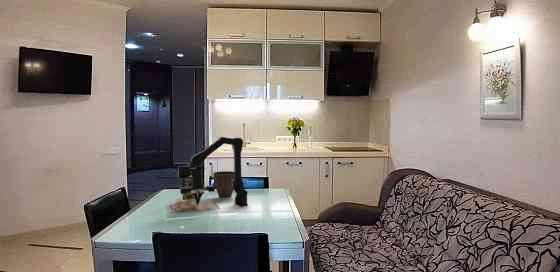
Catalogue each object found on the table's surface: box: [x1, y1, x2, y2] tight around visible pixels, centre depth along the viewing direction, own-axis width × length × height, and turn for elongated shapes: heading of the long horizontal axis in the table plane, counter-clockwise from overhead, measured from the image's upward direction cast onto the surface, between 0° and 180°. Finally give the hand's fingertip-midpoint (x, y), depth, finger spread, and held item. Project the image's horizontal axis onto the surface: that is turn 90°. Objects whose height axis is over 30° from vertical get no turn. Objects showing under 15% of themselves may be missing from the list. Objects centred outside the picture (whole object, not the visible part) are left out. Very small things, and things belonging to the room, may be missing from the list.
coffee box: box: [181, 174, 198, 203], centre depth 237 cm, size 9×6×16 cm
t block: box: [175, 198, 196, 210], centre depth 219 cm, size 10×10×4 cm
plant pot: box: [212, 170, 234, 199], centre depth 250 cm, size 15×15×16 cm
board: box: [169, 201, 221, 214], centre depth 220 cm, size 26×20×1 cm
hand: (197, 204), depth 221 cm, fingers closed
